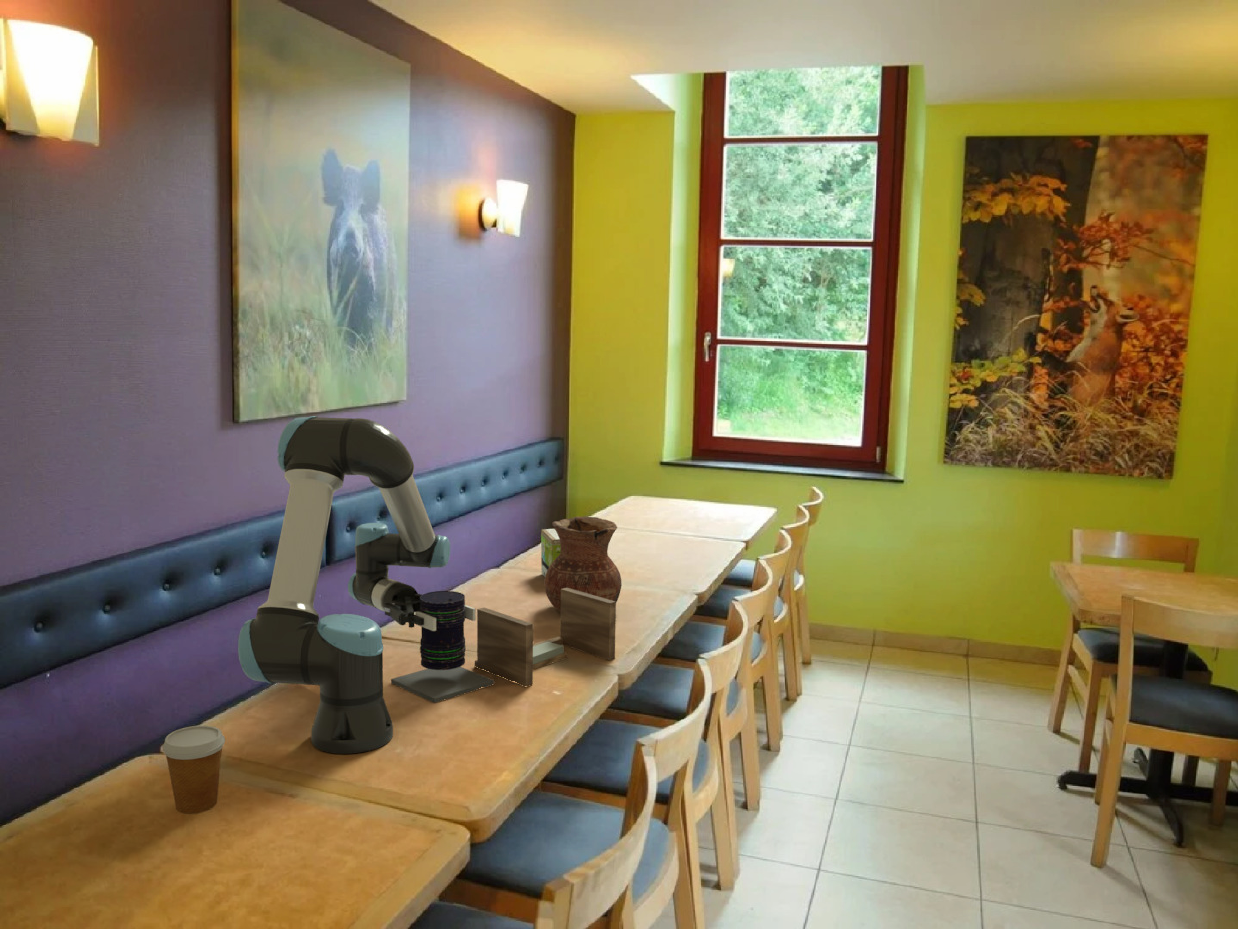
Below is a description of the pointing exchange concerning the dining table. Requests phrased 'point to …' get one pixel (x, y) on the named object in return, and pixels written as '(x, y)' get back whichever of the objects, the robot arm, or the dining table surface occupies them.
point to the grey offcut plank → (546, 651)
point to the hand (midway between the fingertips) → (454, 619)
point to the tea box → (549, 548)
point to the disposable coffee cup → (194, 766)
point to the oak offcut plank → (550, 660)
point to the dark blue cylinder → (443, 630)
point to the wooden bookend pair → (512, 644)
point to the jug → (583, 560)
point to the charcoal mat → (441, 683)
